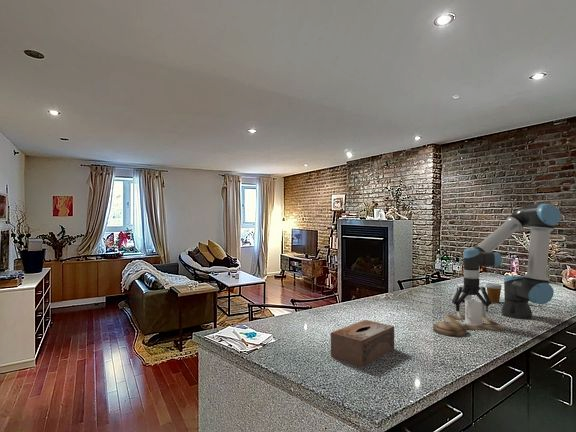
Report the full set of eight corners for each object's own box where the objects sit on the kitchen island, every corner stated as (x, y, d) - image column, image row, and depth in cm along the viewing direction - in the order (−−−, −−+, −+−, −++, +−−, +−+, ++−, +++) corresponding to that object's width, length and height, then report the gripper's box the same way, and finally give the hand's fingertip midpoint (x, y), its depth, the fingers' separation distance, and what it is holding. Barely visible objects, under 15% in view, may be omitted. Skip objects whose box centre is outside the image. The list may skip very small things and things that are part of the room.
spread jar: (473, 303, 232) (473, 285, 232) (456, 303, 232) (456, 285, 233) (464, 299, 244) (464, 282, 244) (448, 299, 244) (448, 282, 244)
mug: (473, 327, 178) (473, 304, 178) (457, 323, 185) (457, 300, 186) (486, 323, 184) (485, 301, 184) (470, 320, 191) (470, 298, 192)
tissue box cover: (361, 367, 130) (361, 340, 130) (330, 357, 140) (330, 332, 140) (394, 349, 148) (394, 326, 148) (365, 341, 158) (365, 319, 158)
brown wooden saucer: (457, 327, 179) (457, 320, 179) (472, 336, 164) (472, 329, 164) (428, 326, 179) (428, 320, 179) (440, 336, 164) (440, 329, 164)
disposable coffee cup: (486, 299, 241) (486, 282, 241) (502, 301, 236) (502, 284, 236) (485, 302, 233) (484, 284, 234) (501, 304, 228) (501, 286, 228)
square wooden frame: (481, 318, 195) (481, 314, 195) (502, 329, 174) (502, 325, 174) (444, 318, 195) (444, 314, 195) (461, 329, 175) (461, 325, 175)
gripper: (490, 276, 189) (491, 315, 188) (445, 276, 189) (445, 315, 189) (498, 278, 181) (499, 319, 181) (451, 278, 182) (451, 319, 182)
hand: (471, 317), depth 185 cm, fingers open, 12 cm apart
